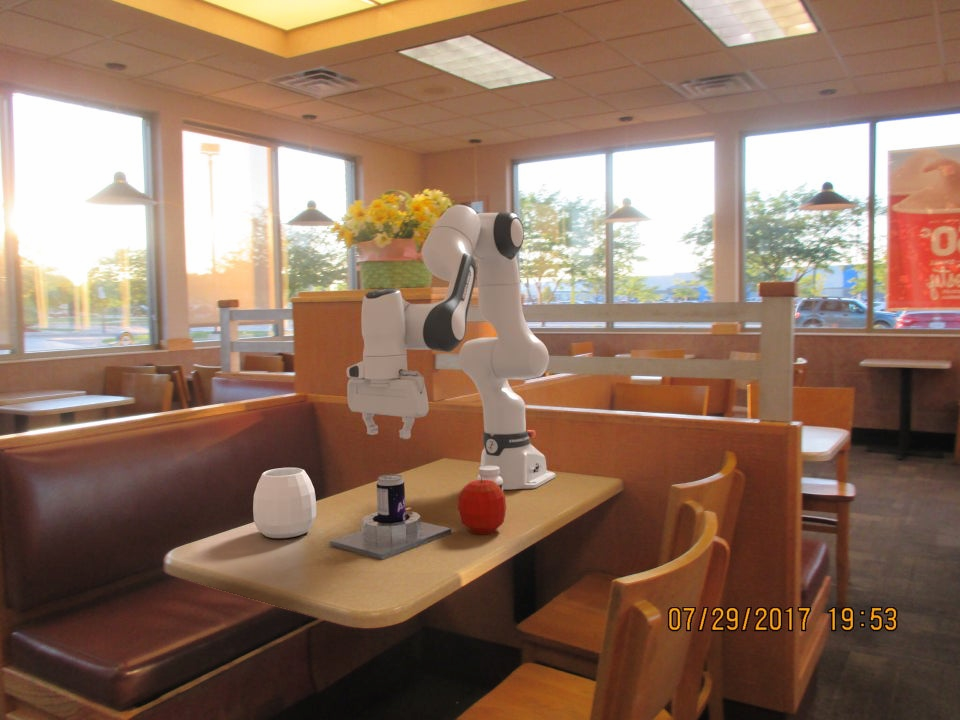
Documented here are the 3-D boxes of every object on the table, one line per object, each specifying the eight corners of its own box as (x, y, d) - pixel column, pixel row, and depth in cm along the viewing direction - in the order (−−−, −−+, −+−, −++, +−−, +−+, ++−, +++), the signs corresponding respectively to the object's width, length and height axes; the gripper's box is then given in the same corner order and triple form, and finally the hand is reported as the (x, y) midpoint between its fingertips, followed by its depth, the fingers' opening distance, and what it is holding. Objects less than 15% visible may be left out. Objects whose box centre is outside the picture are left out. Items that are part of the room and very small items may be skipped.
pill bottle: (476, 519, 168) (475, 471, 167) (475, 512, 174) (474, 465, 173) (504, 518, 168) (503, 470, 167) (502, 511, 174) (501, 464, 173)
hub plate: (400, 521, 168) (399, 498, 168) (451, 533, 158) (450, 508, 158) (330, 545, 152) (329, 519, 152) (381, 559, 143) (380, 532, 143)
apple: (501, 522, 165) (500, 470, 164) (511, 536, 155) (510, 480, 155) (456, 526, 164) (454, 473, 163) (462, 540, 154) (461, 484, 153)
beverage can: (401, 539, 152) (399, 480, 151) (374, 538, 153) (372, 480, 152) (409, 530, 158) (407, 474, 157) (383, 530, 159) (381, 473, 158)
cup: (294, 545, 153) (291, 480, 152) (241, 540, 158) (237, 477, 157) (329, 527, 165) (326, 466, 164) (278, 522, 170) (275, 463, 169)
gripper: (433, 369, 149) (436, 438, 150) (363, 365, 162) (366, 429, 163) (411, 372, 144) (414, 443, 145) (340, 368, 157) (344, 434, 158)
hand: (388, 436), depth 154 cm, fingers open, 8 cm apart
